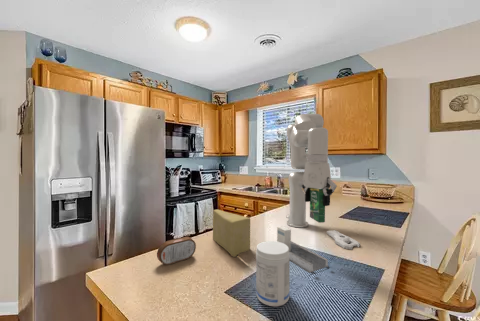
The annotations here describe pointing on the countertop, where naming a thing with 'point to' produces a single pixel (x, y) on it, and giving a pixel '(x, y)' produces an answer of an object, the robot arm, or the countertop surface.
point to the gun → (343, 240)
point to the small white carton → (284, 236)
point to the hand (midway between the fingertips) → (316, 203)
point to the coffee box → (317, 205)
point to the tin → (176, 250)
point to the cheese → (231, 232)
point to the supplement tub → (272, 273)
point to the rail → (306, 258)
